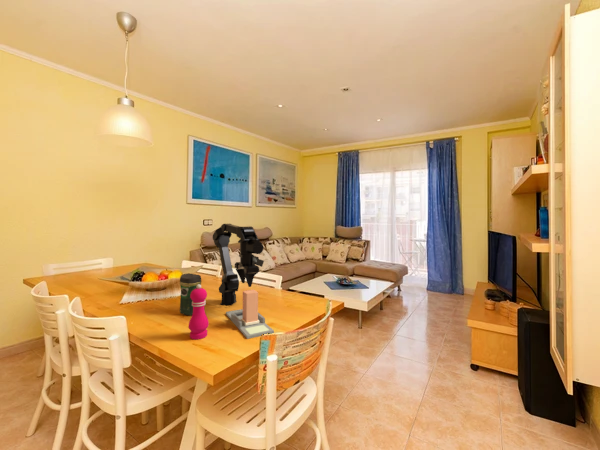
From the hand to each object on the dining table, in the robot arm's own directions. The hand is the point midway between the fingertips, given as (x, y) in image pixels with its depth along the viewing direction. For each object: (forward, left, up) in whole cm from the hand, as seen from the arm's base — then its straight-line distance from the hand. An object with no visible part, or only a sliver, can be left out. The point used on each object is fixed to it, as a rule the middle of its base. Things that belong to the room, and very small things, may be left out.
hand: (246, 284), depth 131 cm
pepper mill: (-7, -29, -13) cm, 33 cm away
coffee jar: (-25, -7, -13) cm, 29 cm away
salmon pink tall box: (+8, -15, -12) cm, 20 cm away
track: (+6, -12, -13) cm, 19 cm away
